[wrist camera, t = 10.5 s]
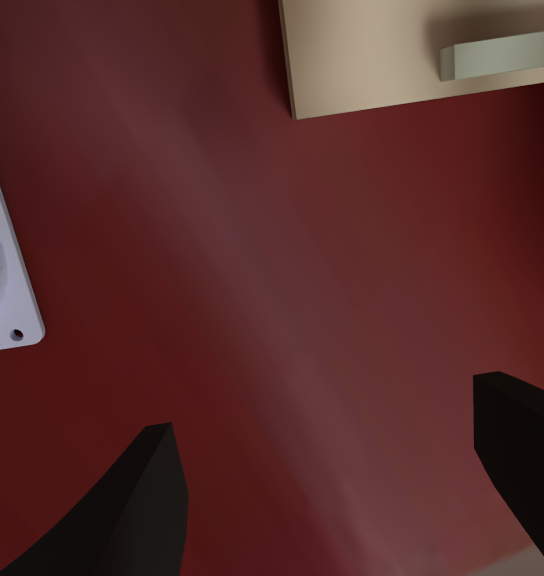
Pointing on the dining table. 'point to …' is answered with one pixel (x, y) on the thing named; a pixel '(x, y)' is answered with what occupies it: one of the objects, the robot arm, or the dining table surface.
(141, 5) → the dining table surface
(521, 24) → the display stand
